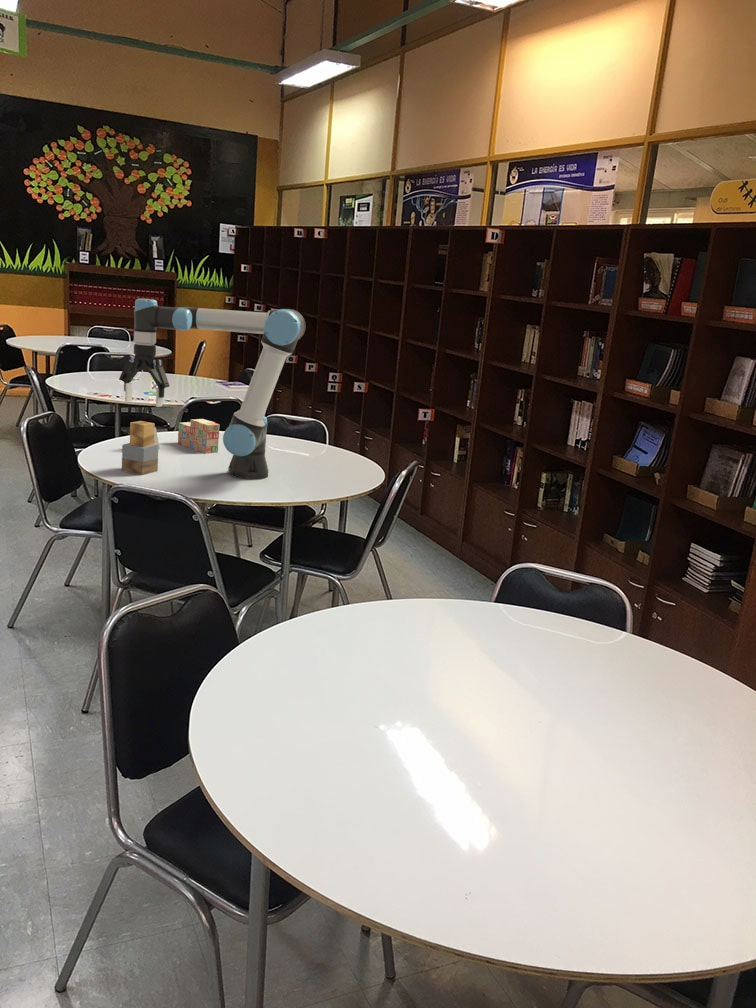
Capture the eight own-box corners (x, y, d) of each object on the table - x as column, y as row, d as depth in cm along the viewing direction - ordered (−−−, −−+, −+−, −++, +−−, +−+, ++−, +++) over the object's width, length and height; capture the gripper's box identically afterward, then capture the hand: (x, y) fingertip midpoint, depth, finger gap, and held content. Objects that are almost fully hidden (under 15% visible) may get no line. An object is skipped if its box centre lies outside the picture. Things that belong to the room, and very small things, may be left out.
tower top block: (157, 458, 304) (158, 444, 303) (143, 462, 296) (143, 448, 294) (137, 454, 307) (137, 441, 305) (122, 458, 298) (122, 444, 297)
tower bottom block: (157, 471, 305) (158, 458, 304) (141, 475, 297) (142, 462, 296) (137, 467, 308) (137, 454, 307) (121, 471, 300) (121, 458, 299)
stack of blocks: (177, 443, 357) (178, 415, 354) (189, 442, 361) (190, 414, 358) (205, 453, 343) (207, 424, 339) (218, 452, 347) (219, 423, 344)
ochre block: (153, 445, 302) (154, 423, 300) (143, 447, 297) (143, 425, 295) (140, 442, 304) (141, 420, 302) (129, 444, 299) (130, 422, 297)
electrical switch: (143, 452, 333) (142, 429, 331) (134, 451, 335) (133, 428, 333) (160, 450, 341) (159, 427, 339) (150, 449, 343) (149, 426, 341)
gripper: (180, 347, 290) (178, 407, 295) (124, 339, 299) (123, 398, 304) (167, 348, 283) (165, 409, 288) (109, 340, 292) (109, 399, 298)
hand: (143, 403), depth 296 cm, fingers open, 13 cm apart
